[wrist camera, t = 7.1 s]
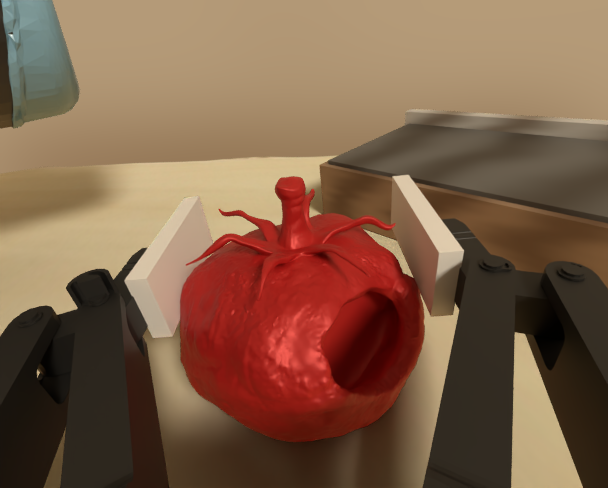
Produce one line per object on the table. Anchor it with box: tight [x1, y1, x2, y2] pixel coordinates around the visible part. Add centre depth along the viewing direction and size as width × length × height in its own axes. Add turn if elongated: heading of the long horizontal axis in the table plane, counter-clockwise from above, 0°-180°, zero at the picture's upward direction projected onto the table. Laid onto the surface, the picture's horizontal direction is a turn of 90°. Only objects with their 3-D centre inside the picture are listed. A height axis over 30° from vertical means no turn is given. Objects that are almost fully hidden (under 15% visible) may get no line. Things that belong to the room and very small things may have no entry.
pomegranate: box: [180, 176, 425, 442], centre depth 14 cm, size 10×10×9 cm
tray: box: [320, 109, 608, 288], centre depth 25 cm, size 20×14×6 cm
